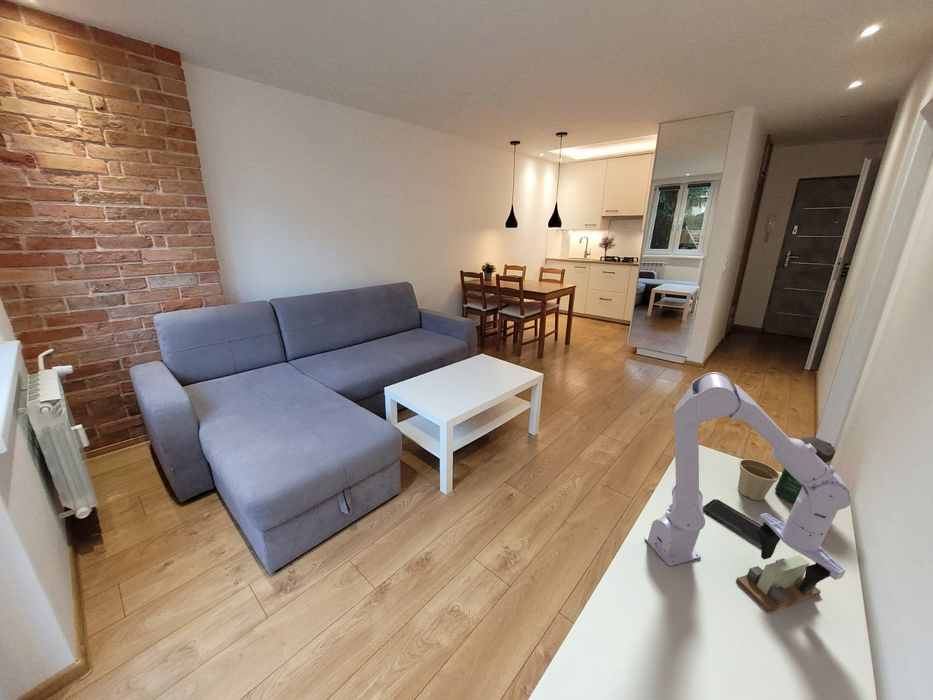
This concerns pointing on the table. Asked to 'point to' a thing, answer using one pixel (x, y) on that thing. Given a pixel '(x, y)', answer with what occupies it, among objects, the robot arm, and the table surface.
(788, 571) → the door panel
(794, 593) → the rail
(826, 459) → the coffee jar
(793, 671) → the table surface
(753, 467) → the flower pot
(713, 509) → the phone
